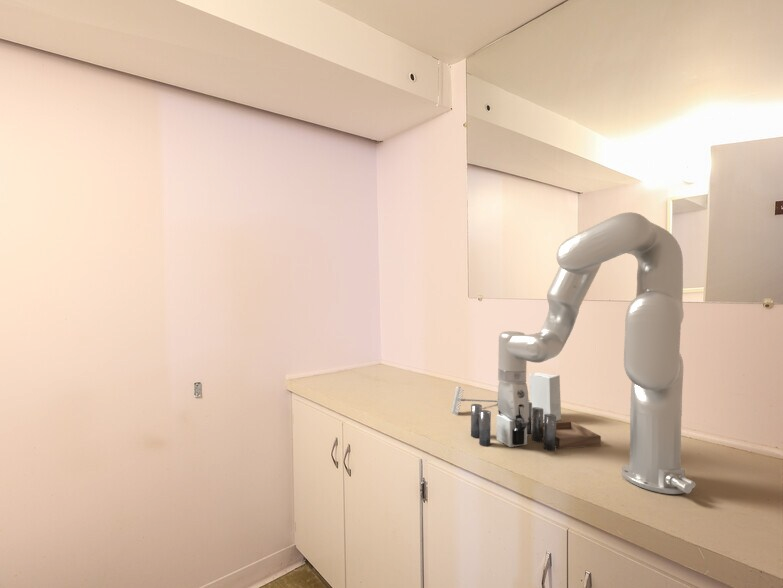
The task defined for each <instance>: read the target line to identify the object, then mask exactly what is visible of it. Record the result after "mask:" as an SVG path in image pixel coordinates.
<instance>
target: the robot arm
mask: <svg viewBox="0 0 783 588" xmlns="http://www.w3.org/2000/svg"><path fill="white" fill-rule="evenodd" d="M682 252H683V251H682V248H681V246H680V244H679V241H678V240H677V239H676V237H674V235H673V234H672V233H670V232H669V231H668V230H667V229H665V228H663V227H661V226H659V225H657V224H656V223H654V222H651V221H650V220H649V219H648V218H647V217H645V216H644V215H642V214H639V213H636V212H622V213H619V214H616V215H614V216H612V217H609V218H607V219H605V220H603V221H601V222H599V223H597V224H596V225H595V224H594V225H593V226H591V227H588V228H587V229H585V230H583V231H580V232H579V233H576V234H574V235H573V236H570V237H569V238H567V239H565V240H564V241H563V242H562V243H561V244H560V246H558V248H557V252H556V261H557V263H558V265H559V267H558V270H557V271H556V274H555V276H554V278H553V280H552V282H551V284H550V286H549V288H548V291H547V293H546V298H547V303H548V313H547V316H546V318H545V320H544V323H543V325H542V326H541V329H540V331H539V332H537V333H531V334H530V333H529V334H526V333H524V332H521V331H515V330H514V331H512V330H511V331H509V330H508V331H502V332H500V334H499V335H498V361H497V362H498V365H497V366H498V371H497V373H498V375H497V379H498V386H497V387H498V388H497V389H498V390H497V400H498V402H496V406H497V409H498V410H497V411H498V414H505V415H506V416H507V417H509V418H511V419H512V420H513V426H514V430H512V444H513V445H520V446H524V445H523V444H524V430H525V428H526V426H527V424H528V422H529V420H528V418H529V402H530V397H529V390H528V385H527V363H528V362H530V363H535V364H537V363H538V364H539V363H543V362H546V361H548V360H551V359H553V358H555V357H557V356H558V355H559V354H560V353H561V352H562V350H563V349H564V347H565V345H566V343H567V341H568V339H569V338H570V335H571V333H572V331H573V328H575V327H574V326H575V323H576V320H577V318H578V315H579V311H580V308H581V306H582V304H583V301H584V300H585V298H586V296H587V294H588V292H589V289H590V287H591V285H592V283H593V282H594V280H595V277H596V276H597V273H598V271H599V269H600V268H601V266H602V263H605V262H608V261H609V260H612V259H615V258H618V257H619V256H622V255H625V254H628V255H631V256H634V257H635V258H636V261H637V270H636V272H637V273H636V295H635V297H634V299H633V300H632V301H631V302H630V303H629V305H628V307H627V309H626V313H625V320H624V321H625V323H624V324H625V327H624V346H623V347H624V349H623V367H624V371H625V374H626V376H627V377H628V379H629V380H630V381H631V387H630V407H629V410H630V415H629V416H630V417H629V420H630V421H629V422H630V423H629V425H630V426H629V463H626V464H624V465H623V466H622V467H621V474H622V476H623V478H625V480H627V481H628V482H629V483H631V484H632V485H633V484H634V485H635V486H637V487H640V488H643V489H644V490H648V491H651V492H655V493H660V494H668V495H680V494H690V493H691V492H692V490H693V489H694V488H695V487H696V482H695V481H694V480H691V479H690V478H687V477H686V469H685V468H683V467H681V466H682V465H681V464H682V463H681V462H682V461H681V460H682V458H681V457H682V448H681V447H682V416H683V414H682V411H683V382H684V360H683V357H682V354H681V352H680V350H681V349H680V347H681V330H682V328H681V325H682V323H683V319H684V315H685V314H684V308H683V305H684V304H683V302H684V301H683V291H684V290H683V289H684V259H683V253H682ZM516 416H520V418H516ZM516 421H520V423H519V424H518V425H517V422H516Z"/></svg>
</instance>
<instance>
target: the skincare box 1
mask: <svg viewBox="0 0 783 588" xmlns="http://www.w3.org/2000/svg"><path fill="white" fill-rule="evenodd" d="M516 418H520V416H516ZM516 422H517V425H518V424H519V423H520V421H516ZM512 430H514V426H513V420H512V419H511V418H509V417H507V416H506V415H505V414H499V413H498V414H496V440H497V441H498V442H500V443H502V444H503V443H504V444H503V445H506V446H508V447H509V448H513V447H514V446H515V447H520V446H521V445H513V444H512ZM527 444H528V435H527V426H526V428H525V430H524V444H523V445H522V446H525V445H527Z"/></svg>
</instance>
